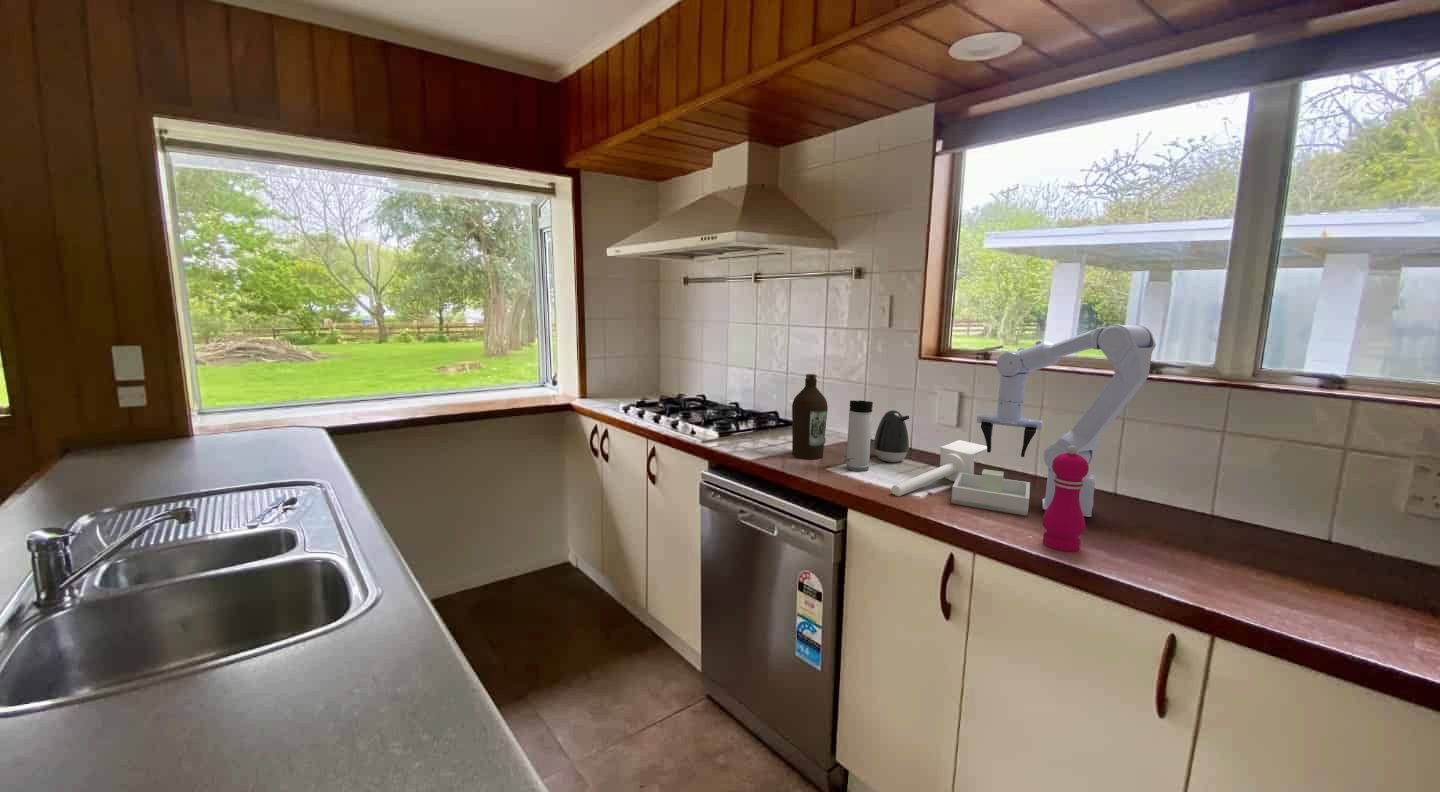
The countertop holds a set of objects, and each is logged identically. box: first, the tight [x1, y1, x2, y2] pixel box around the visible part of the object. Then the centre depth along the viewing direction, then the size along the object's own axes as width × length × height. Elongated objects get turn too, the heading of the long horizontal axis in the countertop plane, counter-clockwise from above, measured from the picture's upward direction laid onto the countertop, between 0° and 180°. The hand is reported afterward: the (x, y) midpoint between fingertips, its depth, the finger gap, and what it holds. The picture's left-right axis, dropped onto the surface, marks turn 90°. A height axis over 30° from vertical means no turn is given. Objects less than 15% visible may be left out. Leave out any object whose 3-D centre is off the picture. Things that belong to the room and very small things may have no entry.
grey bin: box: [950, 472, 1031, 517], centre depth 139 cm, size 16×14×4 cm
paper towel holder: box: [891, 439, 987, 497], centre depth 150 cm, size 9×9×32 cm
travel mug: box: [845, 399, 873, 473], centre depth 163 cm, size 6×7×20 cm
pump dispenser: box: [873, 409, 910, 463], centre depth 173 cm, size 10×10×15 cm
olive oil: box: [791, 373, 828, 460], centre depth 176 cm, size 11×11×25 cm
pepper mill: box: [1041, 446, 1090, 553], centre depth 112 cm, size 7×7×20 cm
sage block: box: [980, 468, 1005, 493], centre depth 139 cm, size 4×4×6 cm
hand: (1005, 453), depth 147 cm, fingers open, 7 cm apart
